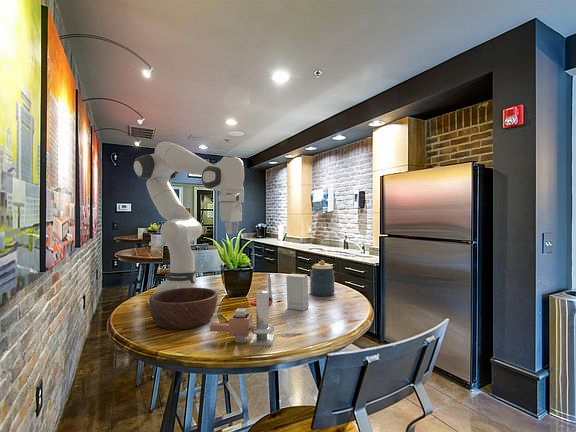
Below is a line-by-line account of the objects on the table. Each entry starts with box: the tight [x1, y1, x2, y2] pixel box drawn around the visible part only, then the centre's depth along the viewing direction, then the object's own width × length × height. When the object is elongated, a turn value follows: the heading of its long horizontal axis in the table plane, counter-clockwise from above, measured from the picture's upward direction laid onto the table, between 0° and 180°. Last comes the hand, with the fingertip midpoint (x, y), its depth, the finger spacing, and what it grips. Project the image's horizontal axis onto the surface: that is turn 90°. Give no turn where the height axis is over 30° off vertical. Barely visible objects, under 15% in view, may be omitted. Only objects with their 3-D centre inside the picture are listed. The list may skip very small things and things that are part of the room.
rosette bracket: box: [209, 289, 275, 347], centre depth 101 cm, size 21×8×16 cm, turn 86°
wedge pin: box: [234, 307, 248, 343], centre depth 101 cm, size 3×3×10 cm
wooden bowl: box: [148, 287, 218, 330], centre depth 120 cm, size 25×25×10 cm
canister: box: [309, 259, 336, 297], centre depth 163 cm, size 13×13×18 cm
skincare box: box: [285, 273, 310, 312], centre depth 137 cm, size 8×6×15 cm
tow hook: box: [250, 273, 274, 306], centre depth 145 cm, size 9×14×10 cm
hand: (232, 233), depth 121 cm, fingers open, 8 cm apart
